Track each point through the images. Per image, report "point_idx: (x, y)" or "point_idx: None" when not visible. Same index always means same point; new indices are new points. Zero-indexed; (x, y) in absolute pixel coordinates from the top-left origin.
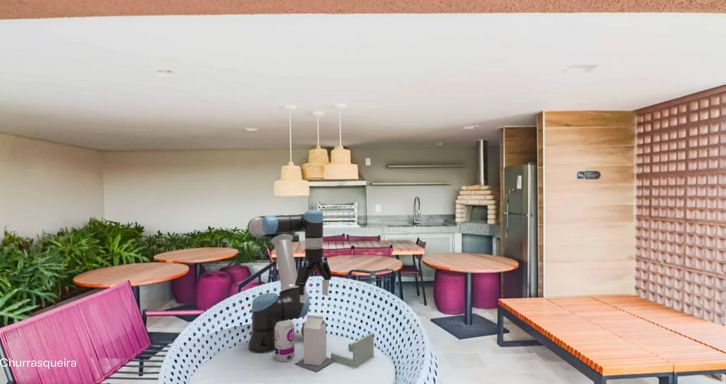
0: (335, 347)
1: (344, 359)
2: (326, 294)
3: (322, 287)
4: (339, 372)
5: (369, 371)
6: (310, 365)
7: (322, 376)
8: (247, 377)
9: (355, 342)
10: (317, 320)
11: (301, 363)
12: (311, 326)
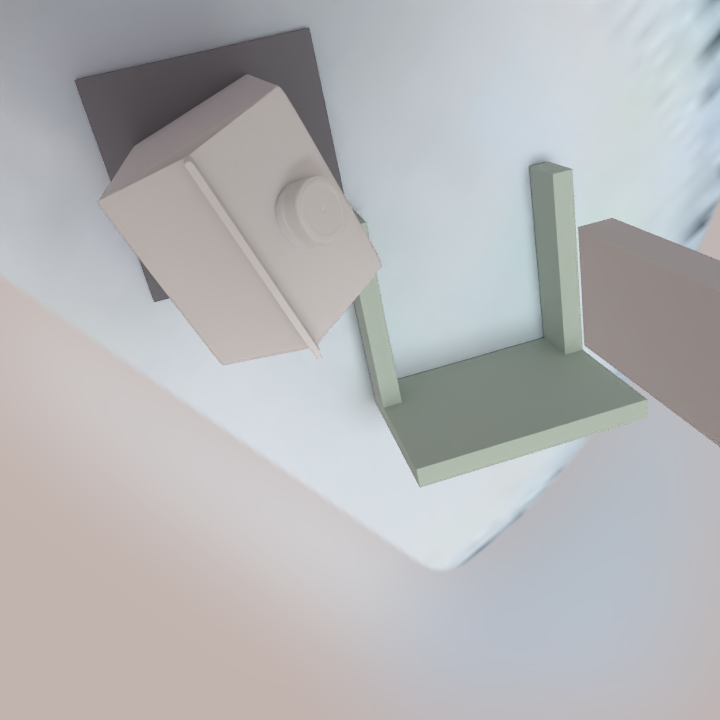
0: (509, 42)
1: (367, 341)
2: (594, 336)
3: (677, 275)
4: (271, 388)
5: (403, 473)
6: None
7: (157, 367)
8: None
9: (432, 478)
10: (260, 303)
11: (121, 123)
12: (173, 279)
